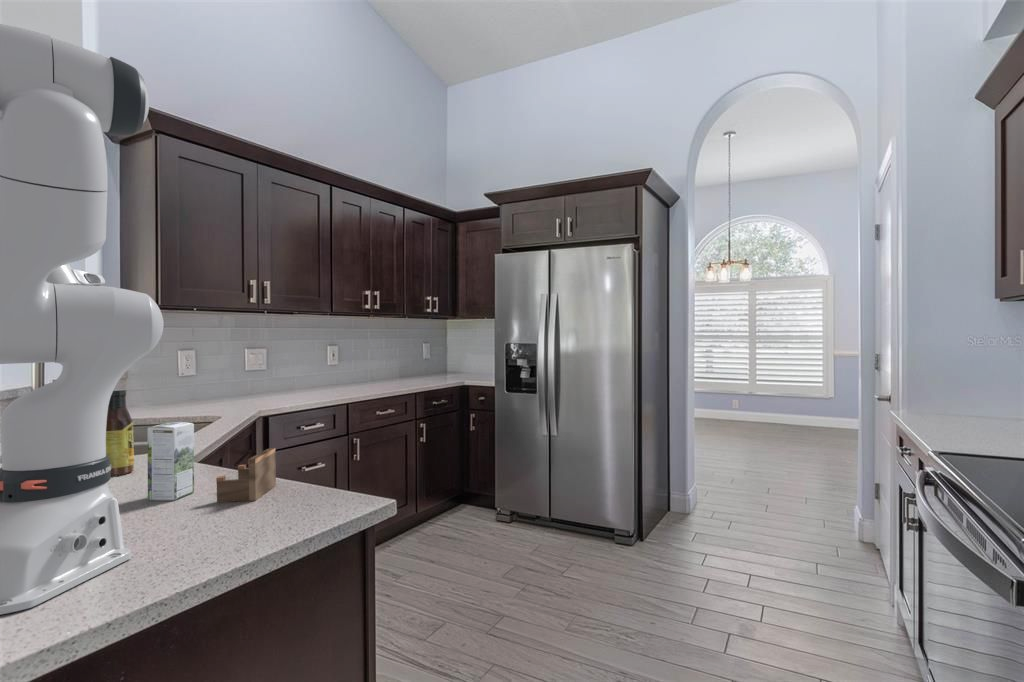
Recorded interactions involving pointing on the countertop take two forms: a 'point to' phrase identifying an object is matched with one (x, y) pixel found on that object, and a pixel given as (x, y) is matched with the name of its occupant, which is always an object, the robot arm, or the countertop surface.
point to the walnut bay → (249, 479)
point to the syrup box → (170, 461)
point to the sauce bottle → (119, 435)
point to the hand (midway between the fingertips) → (90, 348)
